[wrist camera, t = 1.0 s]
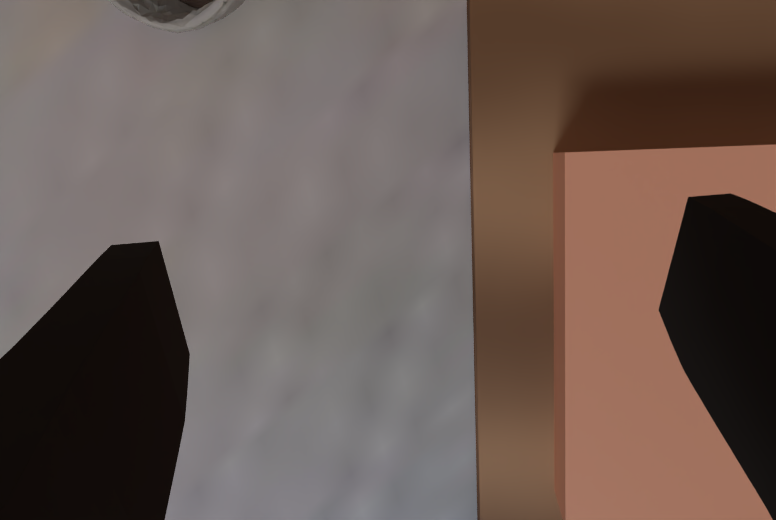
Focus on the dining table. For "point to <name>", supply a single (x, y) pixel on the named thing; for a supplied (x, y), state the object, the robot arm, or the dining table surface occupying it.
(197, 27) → the grey cylinder
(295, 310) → the dining table surface
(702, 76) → the deck
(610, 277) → the salmon pink panel
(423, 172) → the dining table surface
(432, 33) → the dining table surface
